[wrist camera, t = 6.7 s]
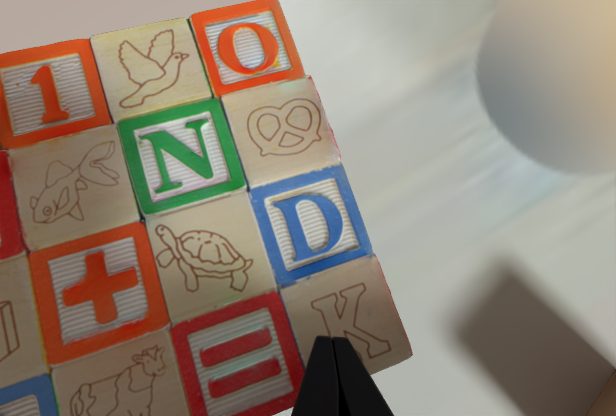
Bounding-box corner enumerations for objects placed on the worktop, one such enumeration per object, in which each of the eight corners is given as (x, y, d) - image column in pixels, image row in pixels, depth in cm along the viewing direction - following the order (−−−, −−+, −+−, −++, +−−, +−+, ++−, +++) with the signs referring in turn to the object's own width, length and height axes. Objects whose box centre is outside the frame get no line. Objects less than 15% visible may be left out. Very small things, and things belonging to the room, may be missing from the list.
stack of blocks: (-685, 833, 6) (-617, 172, 8) (-204, 556, 12) (-235, 221, 14) (421, 354, 10) (277, -13, 12) (362, 327, 16) (274, 88, 18)
